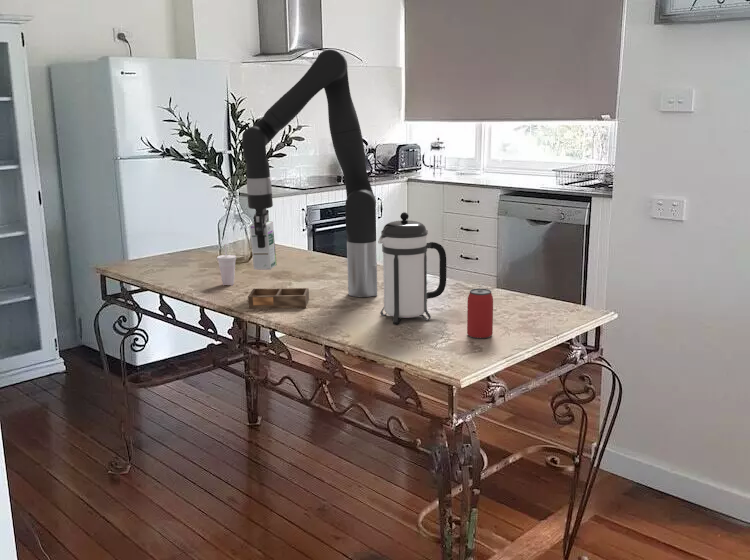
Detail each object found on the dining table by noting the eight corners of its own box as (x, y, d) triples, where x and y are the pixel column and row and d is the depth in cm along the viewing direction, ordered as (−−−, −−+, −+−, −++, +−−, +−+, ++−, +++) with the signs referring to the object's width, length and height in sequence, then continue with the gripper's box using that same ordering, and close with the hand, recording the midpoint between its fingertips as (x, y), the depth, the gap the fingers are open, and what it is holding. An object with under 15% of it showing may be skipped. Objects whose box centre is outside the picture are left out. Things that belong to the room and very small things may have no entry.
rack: (309, 299, 235) (308, 287, 235) (305, 308, 226) (305, 295, 225) (254, 300, 236) (253, 288, 235) (248, 308, 227) (247, 296, 226)
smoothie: (217, 287, 254) (214, 245, 250) (220, 282, 260) (217, 242, 257) (236, 286, 254) (233, 245, 250) (239, 282, 260) (236, 241, 257)
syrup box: (270, 269, 236) (267, 223, 233) (253, 269, 238) (249, 223, 234) (276, 265, 242) (273, 220, 238) (259, 265, 243) (255, 220, 240)
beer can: (491, 331, 201) (491, 287, 198) (493, 339, 194) (494, 294, 192) (466, 331, 201) (466, 287, 198) (468, 339, 195) (468, 294, 192)
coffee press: (421, 328, 205) (420, 218, 197) (369, 321, 212) (367, 214, 205) (447, 312, 219) (447, 209, 212) (397, 306, 227) (396, 206, 220)
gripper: (268, 194, 227) (271, 249, 231) (275, 189, 241) (278, 241, 245) (243, 195, 227) (247, 250, 231) (251, 189, 241) (255, 241, 245)
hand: (263, 245), depth 238 cm, fingers closed on syrup box, 6 cm apart
